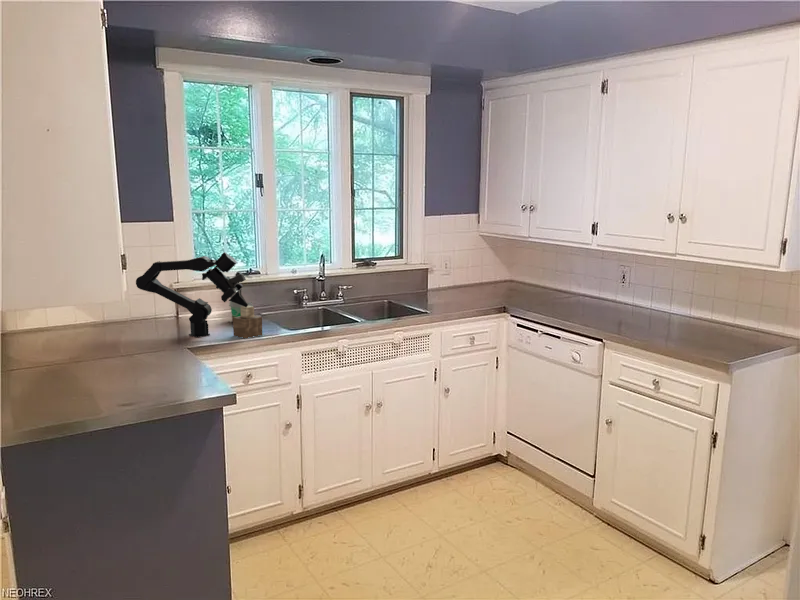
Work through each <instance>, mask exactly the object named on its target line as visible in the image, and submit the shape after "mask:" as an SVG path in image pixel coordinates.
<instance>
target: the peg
mask: <svg viewBox="0 0 800 600" xmlns="http://www.w3.org/2000/svg"><path fill="white" fill-rule="evenodd" d="M240 308H241V318H245V319H247V318H253V317H254V315H255V306H247V307H245V306H242V307H240Z"/></svg>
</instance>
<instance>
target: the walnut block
mask: <svg viewBox="0 0 800 600" xmlns="http://www.w3.org/2000/svg"><path fill="white" fill-rule="evenodd" d="M232 325H233V327H232V328H233V331H232V333H233V337H236V336H238V337H237V338H240V337H243V338H242V339H244V338H246V339H249V338H248V337H251V338H254V337H253V336H256V337H259V336H258V335H261V336H263V317H262V316H259V315H255V314H254V317H253V318H247V319H245V318H241V316H238V317H233V321H232Z"/></svg>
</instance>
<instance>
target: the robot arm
mask: <svg viewBox="0 0 800 600" xmlns="http://www.w3.org/2000/svg"><path fill="white" fill-rule="evenodd" d="M236 265H237V260H236V259H235V257H233V256H231V254H229V253H227V252H225V251H224V252H222V253H221V256H219V258H217V259H212V258H211V259H210V257H208V256H205V255H204V256H200V257H196V258H192V259H186V260H185V259H184V260H171V261H160V260H159V261H155V262H153V263H152V265H151V266H150V267H149V268H148V269H147V270H146V271H145V272H144V273H143V274H142V275H139V276H138V277H137V278H136V280H135V285H136V287H137V289H138V290H141V291H145V292H148V293H154V294H156V295H159V296H161V297H163V298H165V299H167V300H169V301H171V302H173V303H175V304H177V305H179V306H181V307H183V308H185V309H186V310H187V311H188V312H189V313H190V314H191V316H190V317H188V320H189V324H190V326H189V327H190V333H189V334H188V336H190V337H193V336H194V338H201V337H200V336H202V337H207V336H211V334H210V333H209V323H208V320H207V319H208V317H209V316H210V315H211V314H212V311H213V309H212V307H211V305H210V304H209V302H208V301H205V300H203V299H202V298H197V299H196V300H194V299H191V298H190V297H187V296H185V295H184V294H182V293H180V292H178V291H176V290H174V289H172V288H170V287H168V286H166V285H164V284H162V282H160V281H159V279H158V277H159V275H160V273H161V272H165V271H168V272H169V271H182V270H183V271H185V270H186V271H187V270H190V271H195V272H202V274H201V275H202V278H201V279H202V281H205V280H207V279H208V280H209V281H210V282H211V283H212V284H213V285H215V288H216V289H217V290H218V289H219V291H221V292H222V293H223V294H222V295H221V296H220V297H221V298H220V299H221V301H222V302H224V303H226V302H227V301H228V302H230V301H231V302H234V303H237V304H239V305H242V306H245V307H247V306H248V304H247V303H248V302H247V301H246V299H245V298H244V296H243V294H242V292H243V291H242V290H243V289H242V288H243V287H244V284H242V283H243V282H245V281H246V277H245V274H244V273H242V272H240V271H238V272H236V273H235V275H234V276H233V277H230V276H226V275H225V274H224V273H229V272H230V271H231V270H232V269H233V268H234V267H235V266H236ZM213 267H214V268H213ZM204 271H206V272H204ZM206 335H207V336H206Z"/></svg>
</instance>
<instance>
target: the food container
mask: <svg viewBox="0 0 800 600" xmlns="http://www.w3.org/2000/svg"><path fill="white" fill-rule="evenodd" d="M247 304H248V306H253V303H252V301H249V302H247ZM228 306H229V307H230V313H231V321H232V322H233V317H238V316H241V308H240V307H242V305H239V304H237V303H234V302H231V301H229V305H228ZM253 307H254V306H253Z"/></svg>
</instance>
